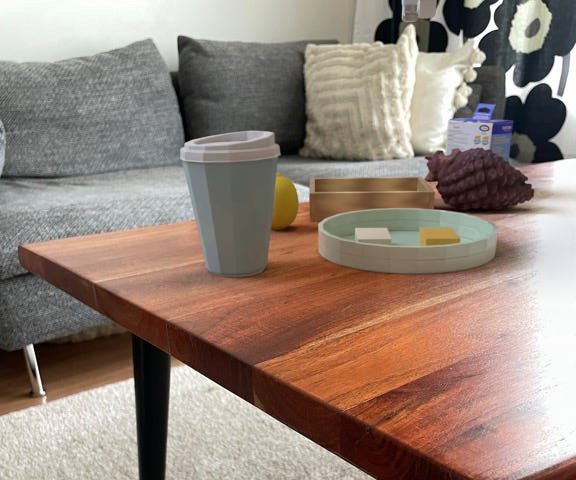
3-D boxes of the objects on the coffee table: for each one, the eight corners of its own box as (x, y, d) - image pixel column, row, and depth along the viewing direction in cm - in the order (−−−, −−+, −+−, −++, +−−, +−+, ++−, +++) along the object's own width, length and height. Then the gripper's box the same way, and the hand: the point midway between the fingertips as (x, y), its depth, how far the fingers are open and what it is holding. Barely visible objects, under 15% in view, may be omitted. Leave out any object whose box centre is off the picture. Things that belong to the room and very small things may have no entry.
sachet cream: (386, 243, 90) (387, 227, 90) (391, 255, 85) (391, 238, 84) (354, 243, 91) (355, 227, 90) (357, 255, 85) (357, 239, 84)
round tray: (474, 233, 97) (477, 207, 96) (514, 278, 78) (518, 246, 76) (317, 234, 98) (317, 208, 97) (318, 279, 79) (318, 248, 77)
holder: (420, 206, 115) (421, 176, 113) (432, 224, 102) (435, 191, 101) (309, 207, 115) (309, 177, 114) (309, 225, 103) (309, 193, 101)
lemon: (307, 232, 99) (306, 172, 96) (278, 239, 96) (276, 177, 93) (279, 226, 103) (278, 168, 100) (250, 233, 100) (248, 173, 96)
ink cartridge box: (507, 197, 121) (517, 104, 115) (485, 201, 118) (494, 106, 112) (461, 189, 128) (469, 102, 122) (440, 193, 125) (446, 103, 119)
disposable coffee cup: (216, 293, 75) (207, 142, 68) (172, 270, 83) (160, 133, 77) (301, 276, 80) (299, 133, 74) (251, 256, 88) (246, 126, 82)
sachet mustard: (450, 242, 90) (451, 226, 89) (459, 255, 85) (460, 238, 84) (418, 243, 90) (419, 227, 90) (425, 255, 85) (426, 238, 84)
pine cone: (523, 201, 117) (550, 151, 108) (517, 242, 111) (545, 194, 103) (418, 170, 118) (437, 118, 109) (407, 210, 112) (426, 159, 104)
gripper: (481, -150, 68) (467, 15, 74) (434, -106, 86) (426, 23, 92) (414, -149, 68) (406, 16, 73) (382, -106, 86) (377, 23, 92)
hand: (417, 20), depth 83 cm, fingers open, 8 cm apart
